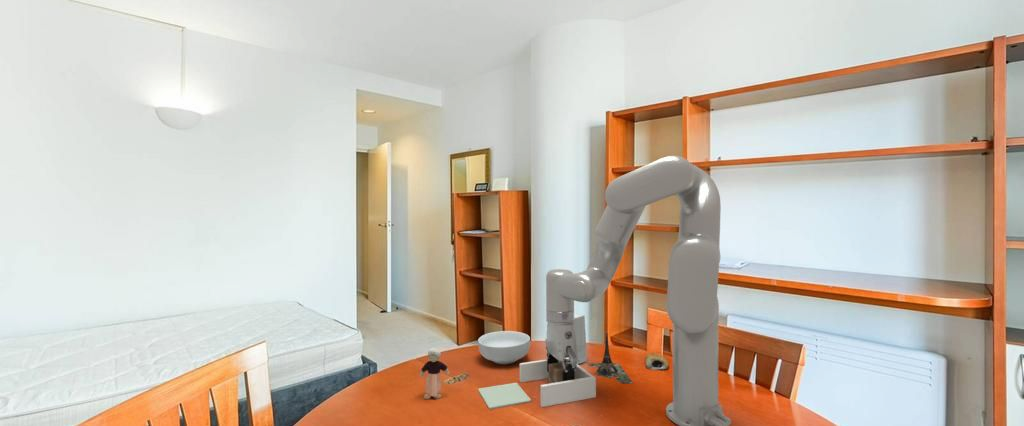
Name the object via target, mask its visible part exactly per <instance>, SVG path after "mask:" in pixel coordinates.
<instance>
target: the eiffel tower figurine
mask: <svg viewBox="0 0 1024 426" xmlns="http://www.w3.org/2000/svg"><path fill="white" fill-rule="evenodd" d="M608 335H609V334H608V332H605V343H604V354H603V358H602V361H601V362H599V363H598V362H593V363H592V362H591V363H590V362H589V363H587V365H588V367H594V368H597V370H596V371H594V372H593V374H595V375H596V376H599V377H601V376H602V377H604V378H608V379H613V378H615V377H616V378H615V381H616V382H618V383H620V384H623V385H624V384H625V385H626V384H634V381H632V379H631V378H630V376H629V375H628V374H627V372H626V370H625V369H624V368H623V367H622V366H621V365H620V364H619V363H614V362H613V361H612V358H611V354H610V349H609V338H608V337H609V336H608Z"/></svg>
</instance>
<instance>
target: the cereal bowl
mask: <svg viewBox="0 0 1024 426" xmlns="http://www.w3.org/2000/svg"><path fill="white" fill-rule="evenodd" d="M477 344H478V345H477V346H478V350H479V352H480V354H481V355H482V357H483V358H484V359H486V360H488V361H492V362H493V363H495V364H498V365H509V364H510V365H511V364H513V363H516V362H517V361H518V360H520V359H522V358H523V357H526V355H527V353H529V350H530V347H531V336H529V335H528V334H527V333H524V332H519V331H515V330H514V331H513V330H500V331H493V332H488V333H485V334H483V335H481V336H480V337H479V338H478V339H477Z"/></svg>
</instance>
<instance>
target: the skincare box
mask: <svg viewBox="0 0 1024 426" xmlns="http://www.w3.org/2000/svg"><path fill="white" fill-rule="evenodd" d="M585 317H586V316H585V314H579V313H576V312H574V325H575V331H576V341H577V359H578V361H577V364H578V365H579V364H583V363H587V362H588V356H587V337H586V335H587V334H586V321H585V319H586V318H585ZM568 358H569V357H568Z"/></svg>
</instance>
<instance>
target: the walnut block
mask: <svg viewBox="0 0 1024 426" xmlns="http://www.w3.org/2000/svg"><path fill="white" fill-rule="evenodd" d="M566 365H567V366H568V365H569V364H567V363H566ZM563 371H564V368H563V365H562V362H559V363H552V364H549V378H548V384H550V383H556V382H562V381H563Z"/></svg>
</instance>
